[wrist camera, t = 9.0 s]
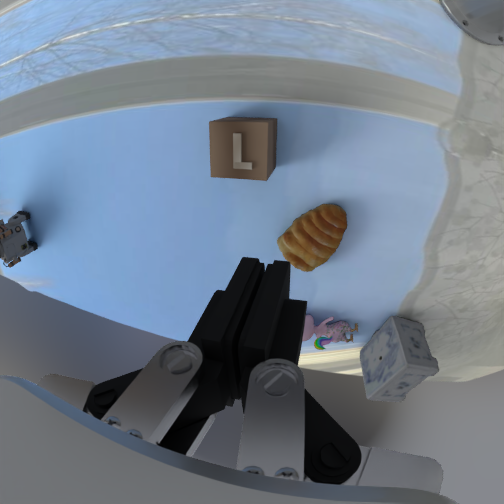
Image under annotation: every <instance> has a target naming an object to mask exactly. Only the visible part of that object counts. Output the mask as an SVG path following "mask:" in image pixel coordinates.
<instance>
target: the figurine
mask: <svg viewBox="0 0 504 504" xmlns="http://www.w3.org/2000/svg"><path fill="white" fill-rule="evenodd" d="M28 219H30V215H29V213H27V212H24V211H18V212H17V214H15V215H14V216H12V217H11V218H10V219H9V220H8V223H6V224H5V225H4V222H3V219H2V220H0V258H2V260H4V261H5V263H9V262H10V261H12V260H13V261H12V262H10V263H9V264H8V266H6V267H12V266H14V265H15V264H17V263H18V262H20V261H21V259H20V257H23V256H25V255H27V254H29V253H31V252H32V251H35V250H36V249H38V248H37V244H36V243H34V242H33V243H32V242H31V241H27V238H26V234H25V230H24V228H23V226H22V225H21V222H23V221H25V220H28ZM17 257H18V258H17ZM4 265H5V264H4Z"/></svg>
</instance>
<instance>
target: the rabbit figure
mask: <svg viewBox="0 0 504 504" xmlns="http://www.w3.org/2000/svg"><path fill="white" fill-rule="evenodd" d="M333 319H334V317H330V318H328V319H326V320H324V321H323V322H321V323H320V324H319V325H318V326H315V325H314V319H313V317H312V316H311V315H306V318H305V326H304V333H303V339H302V341H306V340H309V339H310V338H311V337H312V335H313V334H314V333H315V334H316V337H317V339H316V340H315V342H314V346H315V348H316V349H319V350H322V349H325V348H324V347H323V345H326V344H329V343H330V342H331V341H332V342H339V341H345V342H349V341H351V340H352V342H353V336H352V335H353V334H352V335H350V339H347V337H346V334H345V332H348V331H350V332H353V331H355V330H357V332H358V325H357V324H358V323H357V324H355V329H351V327H350V326H349V325H348V323H347V322H345V321H339V322H336V323H334V324H331V325H327V324H326V323H327V322H329V321H332V320H333ZM322 335H325V336H327V337H328V338H326V337H321V336H322Z"/></svg>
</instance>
